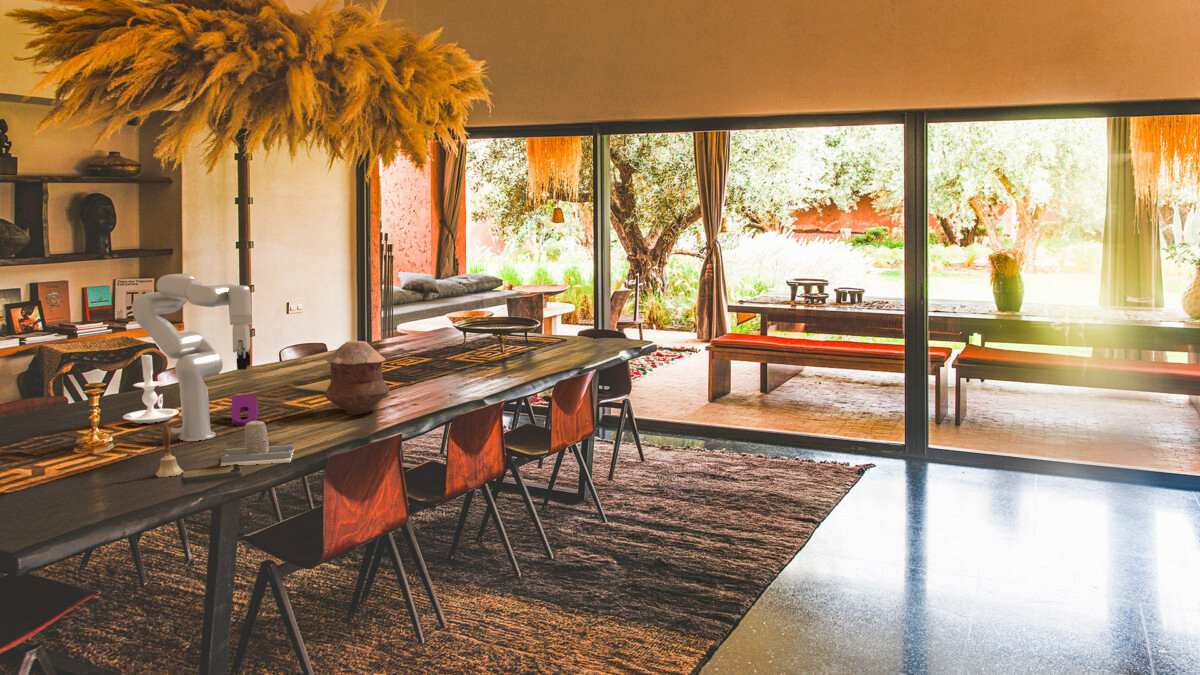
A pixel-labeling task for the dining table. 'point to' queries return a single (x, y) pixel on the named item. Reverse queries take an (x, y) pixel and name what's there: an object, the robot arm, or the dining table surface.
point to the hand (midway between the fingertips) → (243, 367)
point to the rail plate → (258, 456)
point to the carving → (256, 437)
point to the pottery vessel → (356, 377)
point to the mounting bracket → (244, 408)
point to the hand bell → (168, 458)
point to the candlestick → (150, 398)
